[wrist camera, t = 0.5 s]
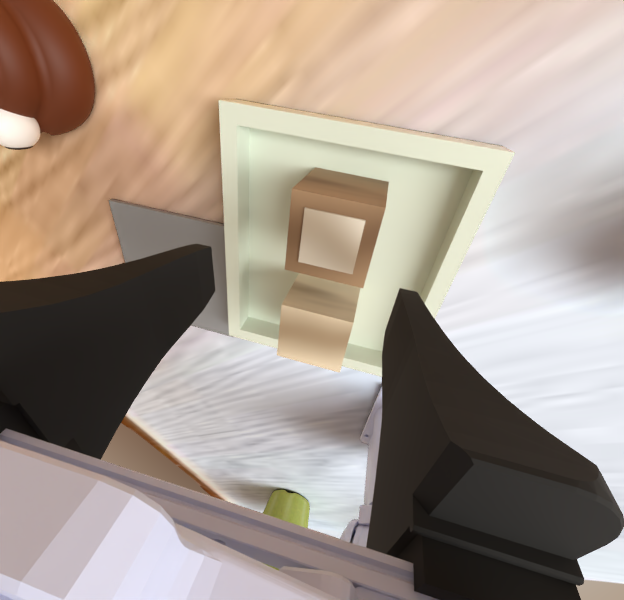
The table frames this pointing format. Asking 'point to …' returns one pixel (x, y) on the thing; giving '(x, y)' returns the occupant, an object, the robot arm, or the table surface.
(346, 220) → the walnut block
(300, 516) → the plant pot
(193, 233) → the felt mat
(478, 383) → the robot arm
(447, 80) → the table surface
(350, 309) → the maple block
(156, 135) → the table surface
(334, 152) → the parts tray
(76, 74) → the poop emoji
